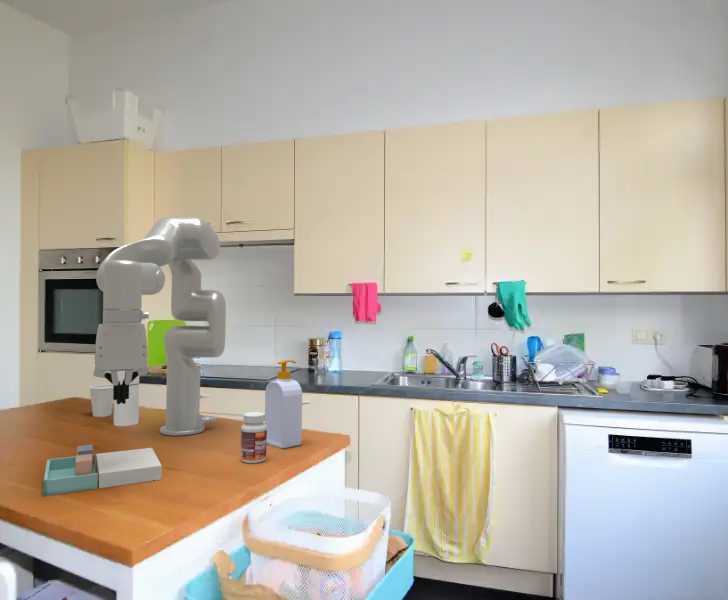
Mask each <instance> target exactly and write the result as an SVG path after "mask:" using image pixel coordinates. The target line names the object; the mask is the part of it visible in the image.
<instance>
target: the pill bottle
mask: <svg viewBox="0 0 728 600" xmlns="http://www.w3.org/2000/svg"><path fill="white" fill-rule="evenodd" d="M240 429H241V432H240V433H241V435H240V460H241V461H242V462H244V463H247V464H259V463H263V462H264V461H266V459H267V426H266V425H265V412H262V411H252V412H251V411H249V412H246V413H243V424H242V426H241V428H240Z"/></svg>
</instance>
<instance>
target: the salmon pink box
mask: <svg viewBox="0 0 728 600" xmlns="http://www.w3.org/2000/svg"><path fill="white" fill-rule="evenodd" d="M75 456H76V461H75V476H79V475H86V474H92V454H86V455H77V454H76V455H75Z"/></svg>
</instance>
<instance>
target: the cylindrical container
mask: <svg viewBox="0 0 728 600" xmlns="http://www.w3.org/2000/svg"><path fill="white" fill-rule="evenodd" d="M133 371H136V370H133ZM117 374H118V380H119V381H120V384H122V381H123V380H124V376H125V371H117ZM139 407H140V376H137V377H136V378H135V379H134V380H133V381H132V382H131V383H130V384H129V399H126V404H123V403H120V404H117V402H116V400H114V402H113V426H115V427H129V426H135V425H137V424H139V411H140V410H139V409H140V408H139Z"/></svg>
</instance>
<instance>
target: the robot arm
mask: <svg viewBox="0 0 728 600" xmlns="http://www.w3.org/2000/svg"><path fill="white" fill-rule="evenodd" d="M220 250H221V241H220V238H219V236H218V233H216V231H215V229H214V228H213V227H212V226H211V225H210V224H209V222H207V220H205V219H203V218H201V217H196V216H195V217H194V216H165V217H163V218H160V219H158V220H157V222H156V223H155V224H154V225H153V226H152V228H151V229H150V230H149V232H148V233H147V234H146V235H145V236H144V238H141V239H138V240H135V241H133V242H130V243H127V244H125V245H123V246H120V247H117V248H115V249H114V250H113V251H110V253H109V254H108V255H107V256H106V257H105V258H104V259H103V261H102V262H101V263H100V265H99V267H98V269H97V272H96V277H95V279H96V285H97V287H98V289H99V290H100V291H101V292H103V293H102V294H103V295H102V297H103V298H102V302H103V306H102V308H103V309H102V323H99V324H98V327H97V332H96V339H95V350H94V365H95V367H94V370H93V376H94V377H95V378H101V379H106V380H107V381H108V382H110V384H113V400H116V402H117V404H120V403H123V404H126V399H129V384H130V383H131V382H132V381H133V380H134V379H135V378H136V377H137V376H139V377H141V376H144V375H147V374H149V369H148V362H149V361H148V360H149V359H148V339H147V331H146V325H145V323H142V322H143V320H145V319H149V317H150V315H149V312H145V311H143V309H142V305H143V304H142V303H143V302H142V301H143V296H153V295H156V294H158V293H160V292H161V291H162V290H163V288H164V286H165V282H166V277H165V276H166V275H165V272H164V270H163V269H162V267H163V266H166V265H168V268H169V270H170V272H171V294H170V295H171V297H170V312H171V313H170V314H171V316H172V318H173V319H175V320H177V321H183V322H207V323H208V325H177V326H176V325H175V326H172V327H170V328H169V329H167V331H166V332H165V334H164V335H163V336H164V337H163V339H164V340H163V344H164V345H163V346H164V351H165V356H166V358H165V359H166V393H165V394H166V402H165V403H166V404H165V406H166V408H165V425H163V426H161V427H160V428H159V429H160V430H159V431H160V432H159V433H160V434H162V435H166V436H173V437H174V436H175V437H176V436H188V435H189V436H190V435H195V434H199V433H201V432H204V431H205V425H206V424H213V423H214V424H215V423H216V422H217V421H216V420H217V419H216V416H214V415H212V416H209V415H205V416H203V415H202V414H200V413H201V412H200V407H201V406H200V404H201V402H200V401H201V371H200V367H199V365H197V363H196V362H195V360H194V359H193V358H195V359H197V358H198V359H199V358H202V359H203V358H205V359H207V358H208V359H209V358H210V359H212V358H214V359H215V358H218V357H221V356H222V354H223V353H224V351H225V347H226V326H227V325H226V322H227V321H226V320H227V319H226V318H227V313H226V312H227V310H226V309H227V305H226V299H225V297H224V296H225V295H223V293H222V292H221V291H218V290H212V289H211V290H210V289H202V272H201V271H200V269H199V267H198V266H197V265H196V263H195V262H194V261H195V260H196V261H197V260H201V261H202V260H204V261H205V260H206V261H207V260H208V261H210V260H215V259H216V258H217V257H218V255H219V254H220ZM193 260H194V261H193ZM133 370H136V371H133ZM117 371H125V376H124V380H123V381H122V384H120V381H119V380H118V374H117Z"/></svg>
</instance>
